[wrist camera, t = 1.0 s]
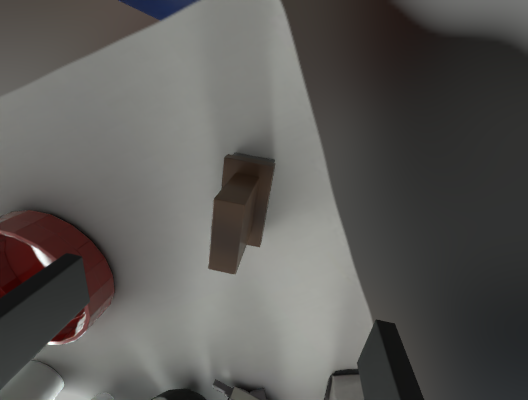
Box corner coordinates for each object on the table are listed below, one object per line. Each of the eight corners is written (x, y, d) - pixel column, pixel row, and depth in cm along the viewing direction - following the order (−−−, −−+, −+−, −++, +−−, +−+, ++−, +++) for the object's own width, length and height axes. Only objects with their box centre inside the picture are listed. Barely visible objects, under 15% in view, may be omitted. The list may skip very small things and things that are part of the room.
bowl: (-19, 195, 32) (-73, 213, 28) (111, 224, 31) (78, 247, 26) (14, 299, 39) (-24, 327, 35) (121, 325, 38) (96, 357, 33)
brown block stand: (232, 149, 25) (198, 178, 17) (277, 158, 25) (264, 191, 17) (225, 224, 29) (193, 278, 20) (264, 232, 28) (247, 290, 20)
